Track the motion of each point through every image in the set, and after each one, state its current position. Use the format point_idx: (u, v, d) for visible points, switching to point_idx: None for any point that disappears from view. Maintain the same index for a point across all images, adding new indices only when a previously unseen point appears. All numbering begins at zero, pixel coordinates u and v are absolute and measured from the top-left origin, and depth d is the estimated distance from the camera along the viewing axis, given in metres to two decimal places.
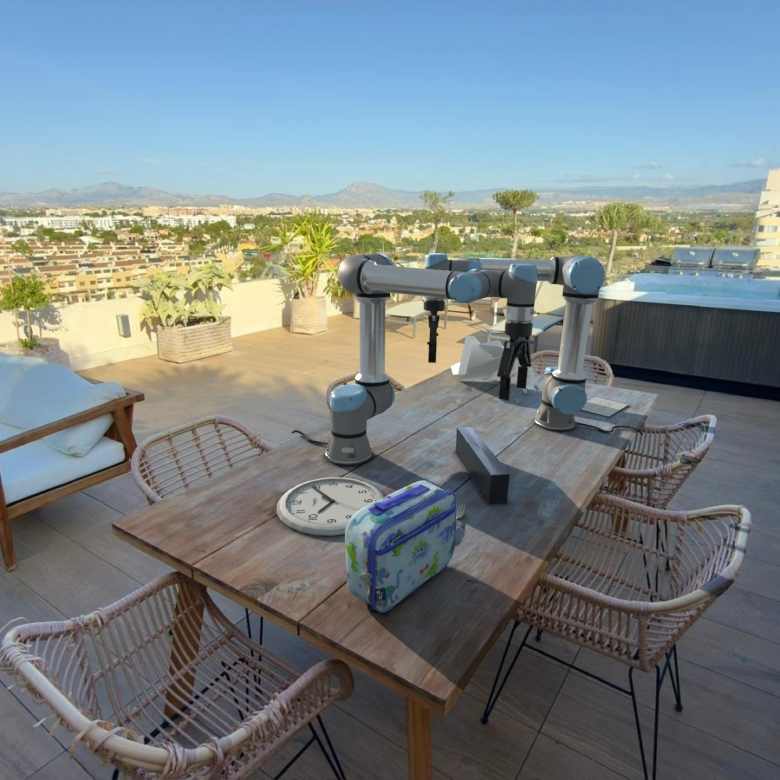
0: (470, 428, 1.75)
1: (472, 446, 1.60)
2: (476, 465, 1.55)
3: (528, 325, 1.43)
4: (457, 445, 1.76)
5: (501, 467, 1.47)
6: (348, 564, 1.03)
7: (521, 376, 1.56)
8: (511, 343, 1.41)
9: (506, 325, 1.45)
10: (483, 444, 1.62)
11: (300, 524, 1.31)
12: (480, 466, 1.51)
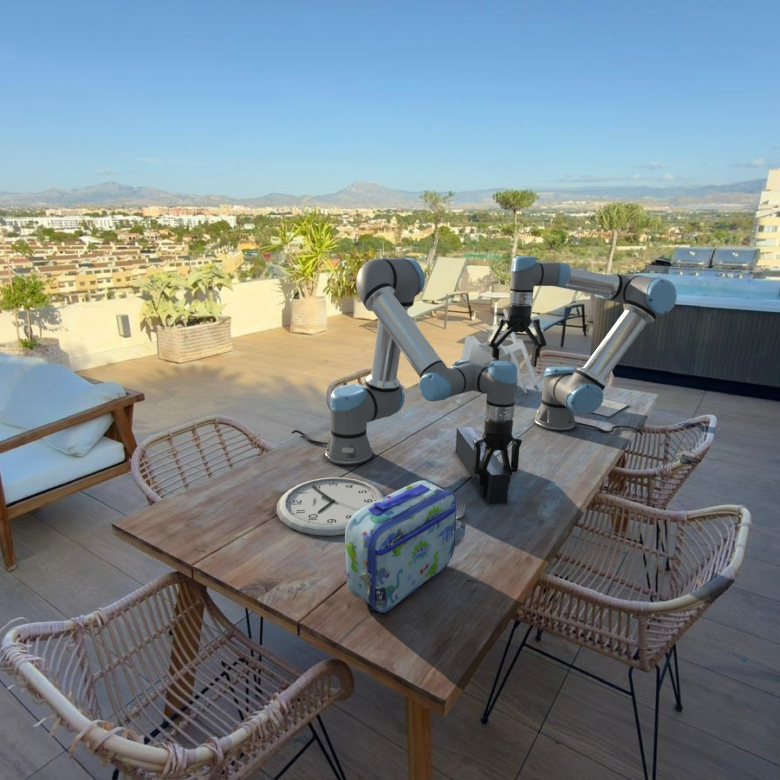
0: (470, 428, 1.75)
1: (472, 446, 1.60)
2: None
3: (497, 425, 1.39)
4: (457, 445, 1.75)
5: (501, 467, 1.47)
6: (348, 564, 1.03)
7: None
8: (474, 443, 1.42)
9: None
10: (483, 444, 1.62)
11: (300, 524, 1.31)
12: None
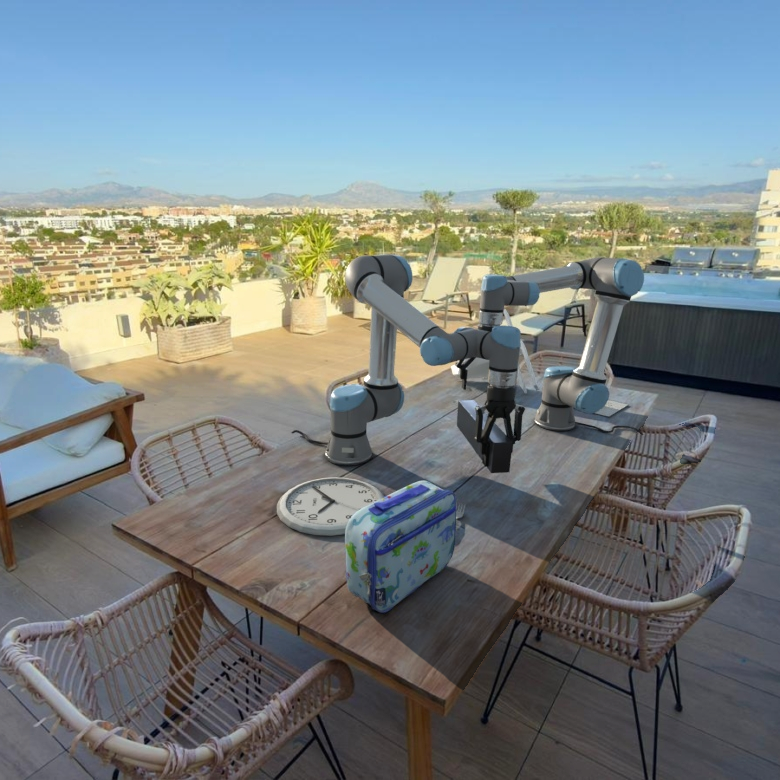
0: (472, 401, 1.72)
1: (474, 417, 1.57)
2: None
3: (500, 390, 1.36)
4: (458, 418, 1.73)
5: (504, 436, 1.44)
6: (348, 564, 1.03)
7: None
8: (477, 410, 1.40)
9: None
10: (485, 415, 1.59)
11: (300, 524, 1.31)
12: None
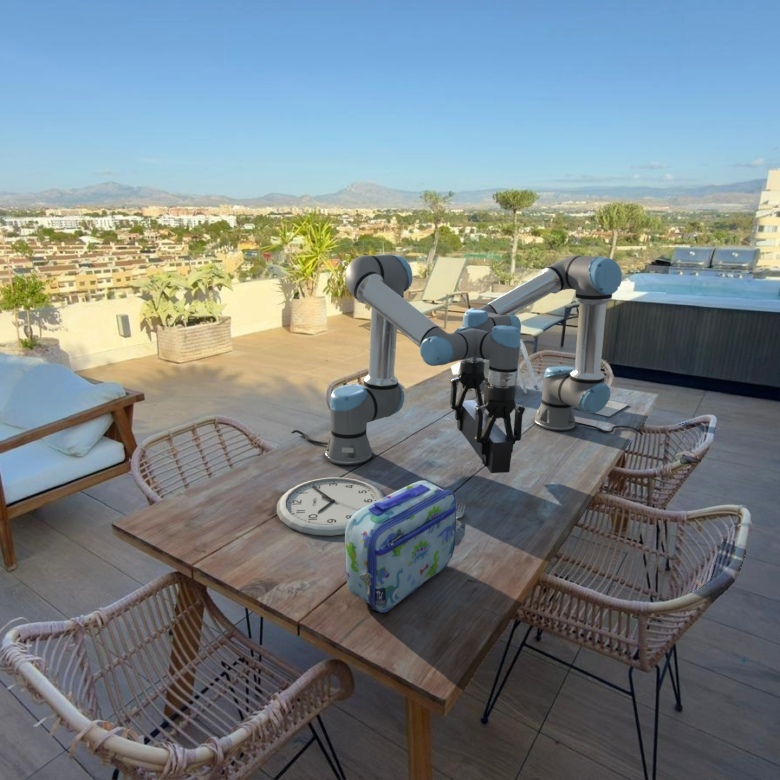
0: (472, 401, 1.72)
1: (474, 417, 1.58)
2: None
3: (500, 390, 1.36)
4: None
5: (504, 436, 1.44)
6: (348, 564, 1.03)
7: None
8: (477, 410, 1.40)
9: None
10: (485, 415, 1.59)
11: (300, 524, 1.31)
12: None
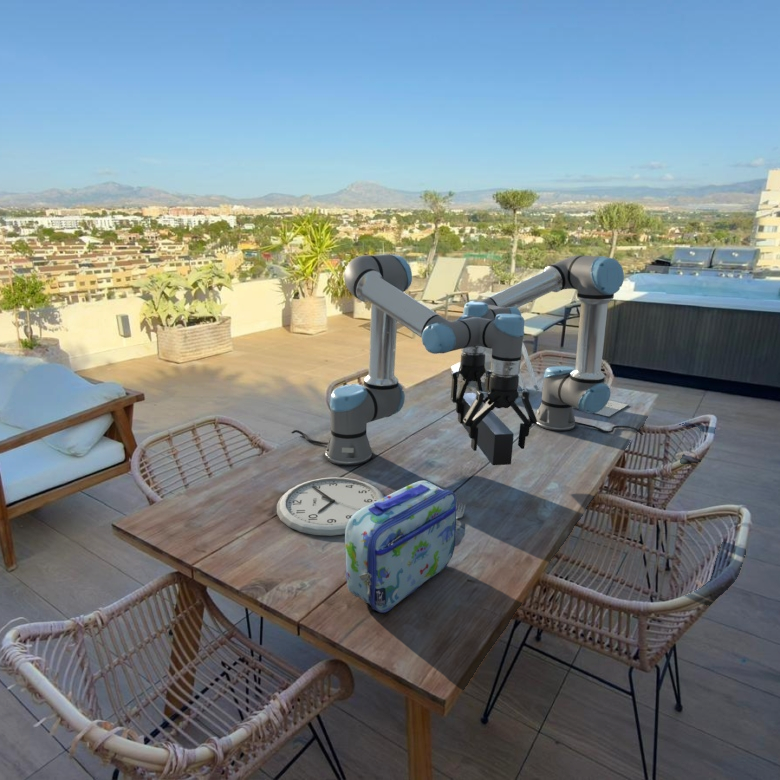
0: (473, 394, 1.71)
1: None
2: (479, 428, 1.52)
3: (503, 380, 1.34)
4: None
5: (505, 427, 1.43)
6: (348, 564, 1.03)
7: (520, 434, 1.44)
8: (479, 393, 1.37)
9: None
10: None
11: (300, 524, 1.31)
12: (483, 427, 1.48)
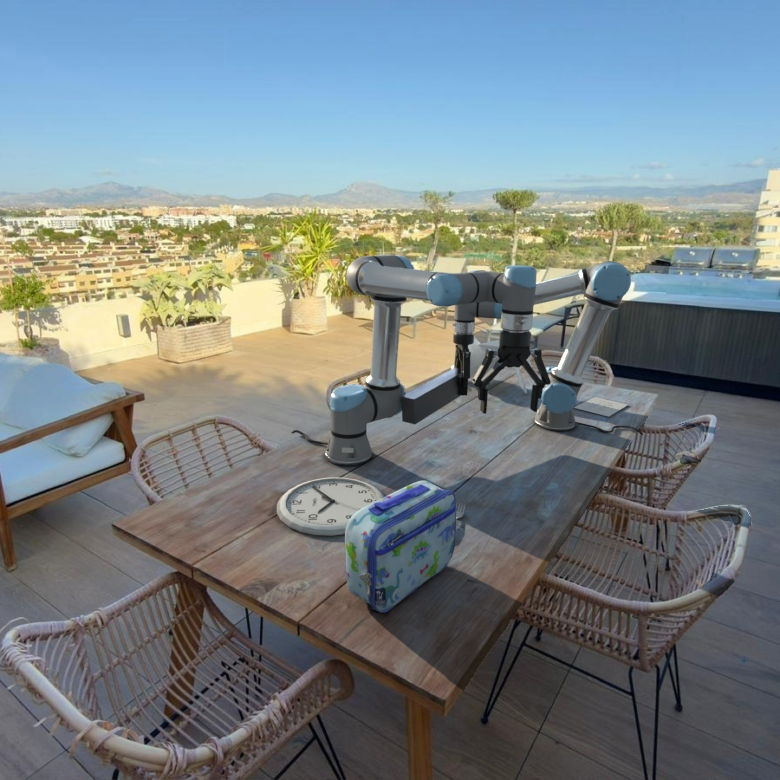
0: None
1: (433, 379, 1.87)
2: None
3: (514, 335, 1.26)
4: None
5: (419, 394, 1.74)
6: (348, 564, 1.03)
7: (533, 396, 1.35)
8: (489, 351, 1.29)
9: None
10: (444, 380, 1.86)
11: (300, 524, 1.31)
12: None
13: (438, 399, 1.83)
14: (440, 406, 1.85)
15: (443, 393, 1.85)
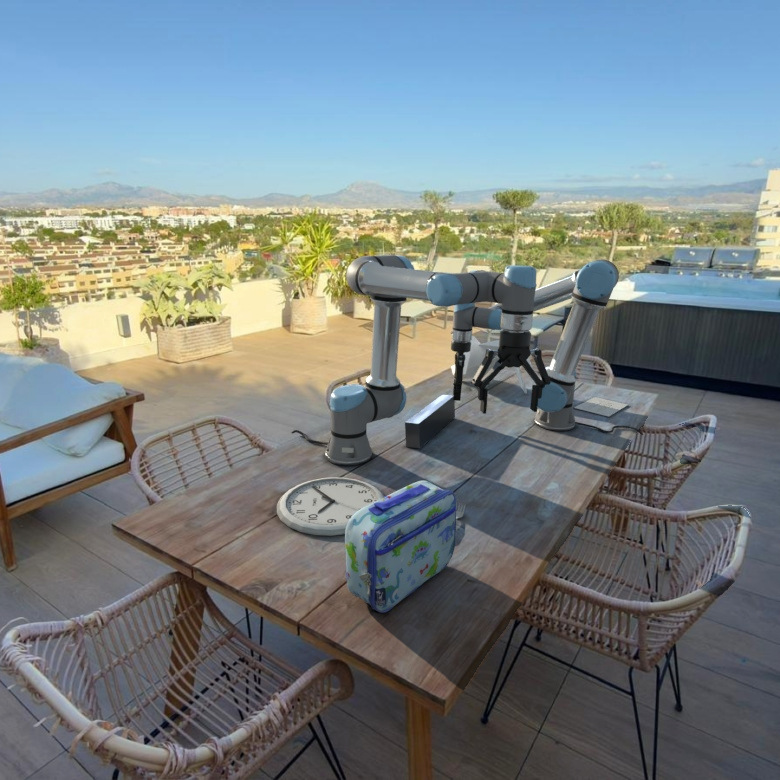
0: (450, 396, 2.07)
1: (427, 406, 1.96)
2: None
3: (514, 335, 1.26)
4: None
5: (421, 419, 1.81)
6: (348, 564, 1.03)
7: (533, 396, 1.35)
8: (489, 351, 1.29)
9: None
10: (438, 406, 1.95)
11: (300, 524, 1.31)
12: None
13: (435, 424, 1.91)
14: (437, 431, 1.93)
15: (438, 418, 1.94)
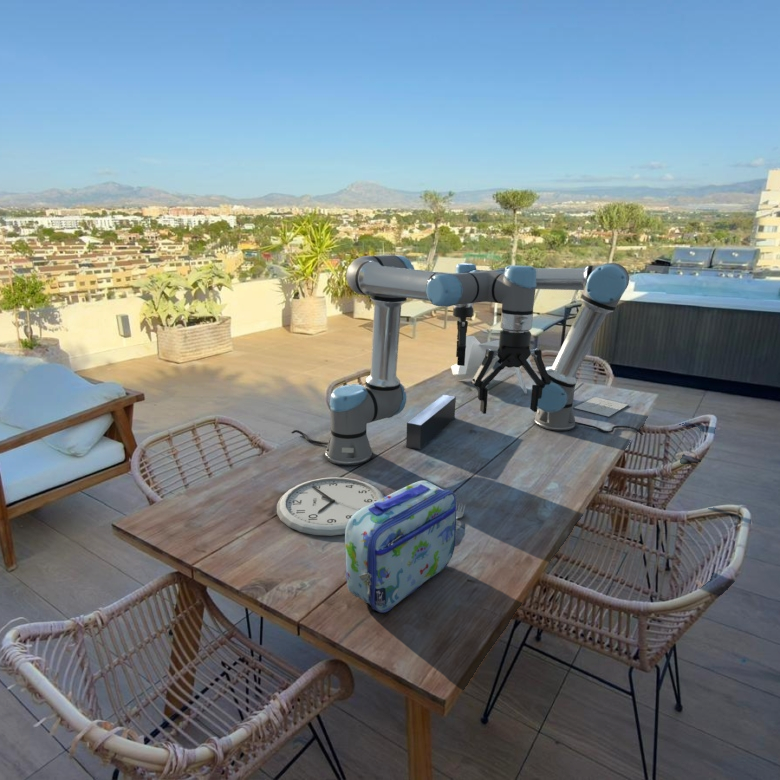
0: (452, 397, 2.06)
1: (429, 406, 1.95)
2: None
3: (514, 335, 1.26)
4: None
5: (423, 421, 1.81)
6: (348, 564, 1.03)
7: (533, 396, 1.35)
8: (489, 351, 1.29)
9: None
10: (440, 407, 1.95)
11: (300, 524, 1.31)
12: None
13: (436, 425, 1.91)
14: (437, 432, 1.93)
15: (439, 419, 1.94)
